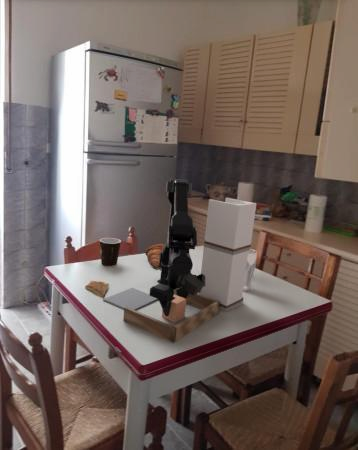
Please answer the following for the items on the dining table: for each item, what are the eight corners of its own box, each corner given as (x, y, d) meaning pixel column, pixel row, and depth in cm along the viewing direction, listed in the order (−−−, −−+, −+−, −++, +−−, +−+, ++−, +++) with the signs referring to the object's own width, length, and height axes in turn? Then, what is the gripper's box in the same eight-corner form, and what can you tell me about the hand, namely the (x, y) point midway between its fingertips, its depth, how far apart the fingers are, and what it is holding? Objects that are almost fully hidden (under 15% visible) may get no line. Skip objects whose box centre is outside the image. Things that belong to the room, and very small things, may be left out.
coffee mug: (102, 259, 162) (103, 237, 160) (122, 262, 161) (123, 239, 159) (92, 267, 151) (94, 243, 149) (113, 270, 150) (115, 246, 148)
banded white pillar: (242, 303, 130) (256, 203, 122) (225, 311, 122) (239, 205, 114) (215, 292, 137) (227, 197, 130) (198, 300, 129) (209, 199, 121)
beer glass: (255, 289, 144) (261, 251, 141) (245, 293, 139) (251, 254, 136) (240, 283, 149) (245, 246, 146) (230, 287, 144) (235, 249, 141)
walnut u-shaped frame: (173, 296, 130) (174, 285, 129) (218, 313, 120) (220, 301, 119) (123, 320, 110) (124, 307, 109) (173, 343, 100) (174, 329, 99)
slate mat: (132, 289, 133) (132, 287, 133) (158, 299, 127) (158, 297, 127) (103, 300, 122) (103, 298, 122) (130, 312, 115) (131, 310, 115)
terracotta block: (171, 311, 118) (173, 294, 117) (184, 317, 116) (186, 298, 114) (161, 316, 114) (163, 298, 113) (175, 322, 112) (176, 303, 110)
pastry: (185, 266, 164) (187, 248, 162) (154, 270, 156) (156, 251, 154) (165, 255, 178) (166, 238, 176) (136, 257, 169) (137, 240, 168)
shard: (103, 299, 124) (103, 294, 124) (80, 297, 124) (80, 292, 123) (109, 286, 135) (109, 282, 134) (88, 284, 134) (88, 280, 134)
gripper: (183, 278, 99) (177, 332, 103) (217, 263, 115) (211, 311, 118) (150, 267, 105) (146, 318, 109) (187, 254, 121) (182, 300, 124)
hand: (173, 312), depth 115 cm, fingers open, 7 cm apart
